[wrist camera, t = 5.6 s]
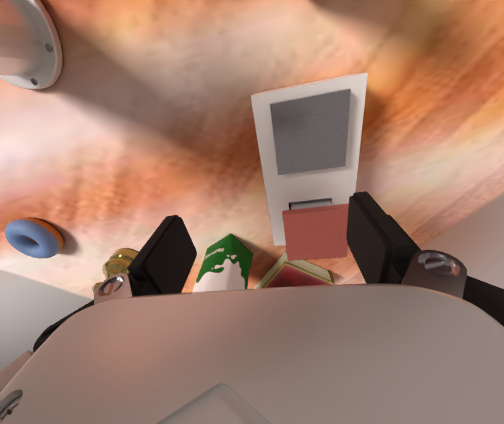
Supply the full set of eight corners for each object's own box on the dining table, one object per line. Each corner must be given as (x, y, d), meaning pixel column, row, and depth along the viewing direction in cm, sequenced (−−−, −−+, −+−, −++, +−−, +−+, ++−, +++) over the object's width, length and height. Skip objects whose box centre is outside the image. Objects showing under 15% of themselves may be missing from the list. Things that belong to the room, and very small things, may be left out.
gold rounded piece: (139, 247, 45) (110, 285, 37) (151, 270, 49) (127, 309, 41) (109, 247, 46) (73, 284, 37) (123, 270, 50) (93, 308, 41)
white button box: (254, 93, 27) (250, 96, 22) (348, 74, 25) (367, 72, 20) (273, 224, 39) (274, 245, 34) (339, 218, 37) (350, 239, 32)
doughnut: (20, 206, 41) (-5, 221, 37) (73, 231, 44) (55, 247, 41) (18, 230, 46) (-4, 245, 43) (65, 251, 50) (49, 267, 46)
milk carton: (231, 228, 40) (203, 334, 23) (259, 255, 44) (252, 364, 27) (201, 247, 44) (158, 351, 27) (229, 271, 47) (207, 376, 30)
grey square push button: (269, 99, 27) (269, 104, 21) (333, 87, 25) (350, 88, 20) (276, 158, 31) (278, 175, 25) (331, 150, 30) (345, 166, 24)
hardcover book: (330, 269, 45) (335, 285, 41) (280, 314, 56) (281, 329, 52) (283, 248, 43) (285, 263, 39) (241, 299, 53) (239, 315, 50)
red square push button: (280, 190, 30) (282, 215, 25) (336, 184, 29) (351, 207, 24) (284, 232, 35) (287, 260, 29) (333, 228, 33) (346, 256, 28)
